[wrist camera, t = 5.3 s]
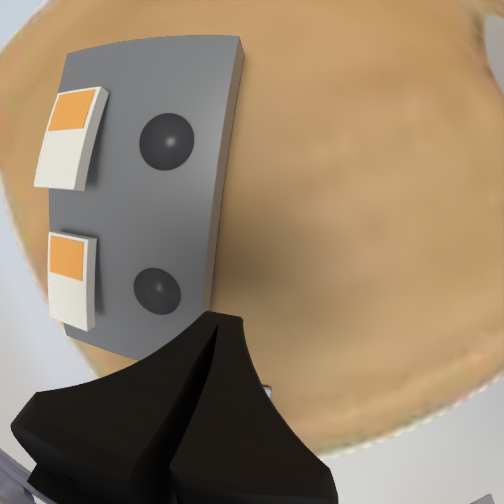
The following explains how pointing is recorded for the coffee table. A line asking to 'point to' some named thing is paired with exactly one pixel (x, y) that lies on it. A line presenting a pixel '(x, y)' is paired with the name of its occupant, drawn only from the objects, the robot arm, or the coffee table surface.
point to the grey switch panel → (152, 183)
